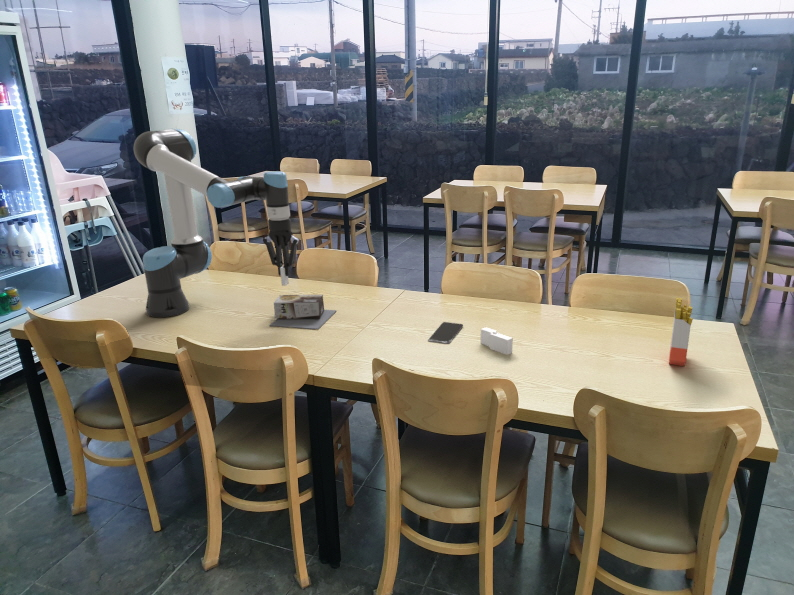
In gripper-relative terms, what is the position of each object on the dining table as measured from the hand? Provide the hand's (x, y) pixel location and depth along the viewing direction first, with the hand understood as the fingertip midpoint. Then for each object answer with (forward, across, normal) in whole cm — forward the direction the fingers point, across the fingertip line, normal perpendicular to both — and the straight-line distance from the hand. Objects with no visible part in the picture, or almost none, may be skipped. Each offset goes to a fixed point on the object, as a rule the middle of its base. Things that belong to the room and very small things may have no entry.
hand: (285, 284), depth 214 cm
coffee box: (+9, -4, 0) cm, 10 cm away
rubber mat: (+12, +6, 0) cm, 14 cm away
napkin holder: (+13, +75, -12) cm, 77 cm away
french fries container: (+13, +127, -12) cm, 128 cm away
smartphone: (+13, +58, -4) cm, 60 cm away
